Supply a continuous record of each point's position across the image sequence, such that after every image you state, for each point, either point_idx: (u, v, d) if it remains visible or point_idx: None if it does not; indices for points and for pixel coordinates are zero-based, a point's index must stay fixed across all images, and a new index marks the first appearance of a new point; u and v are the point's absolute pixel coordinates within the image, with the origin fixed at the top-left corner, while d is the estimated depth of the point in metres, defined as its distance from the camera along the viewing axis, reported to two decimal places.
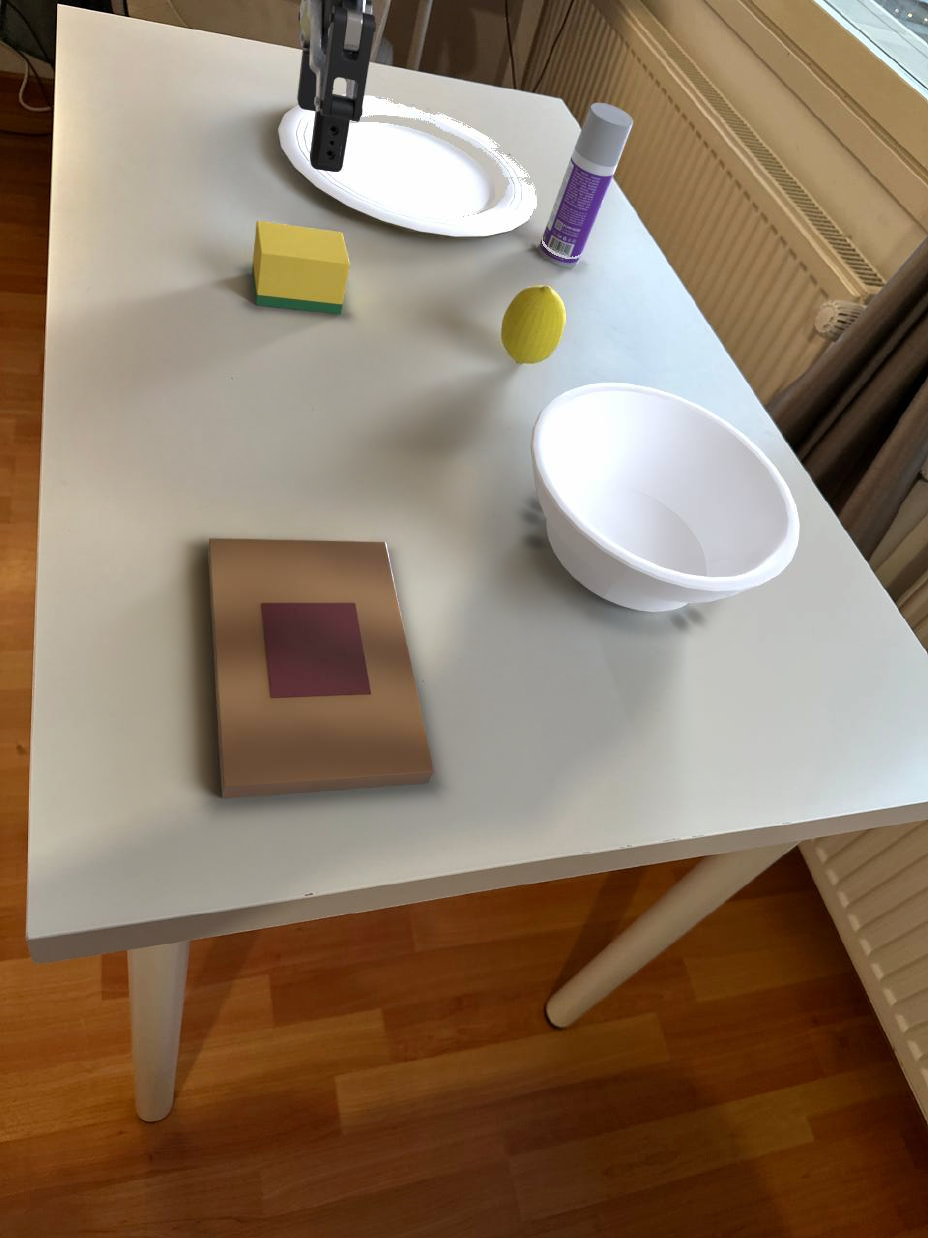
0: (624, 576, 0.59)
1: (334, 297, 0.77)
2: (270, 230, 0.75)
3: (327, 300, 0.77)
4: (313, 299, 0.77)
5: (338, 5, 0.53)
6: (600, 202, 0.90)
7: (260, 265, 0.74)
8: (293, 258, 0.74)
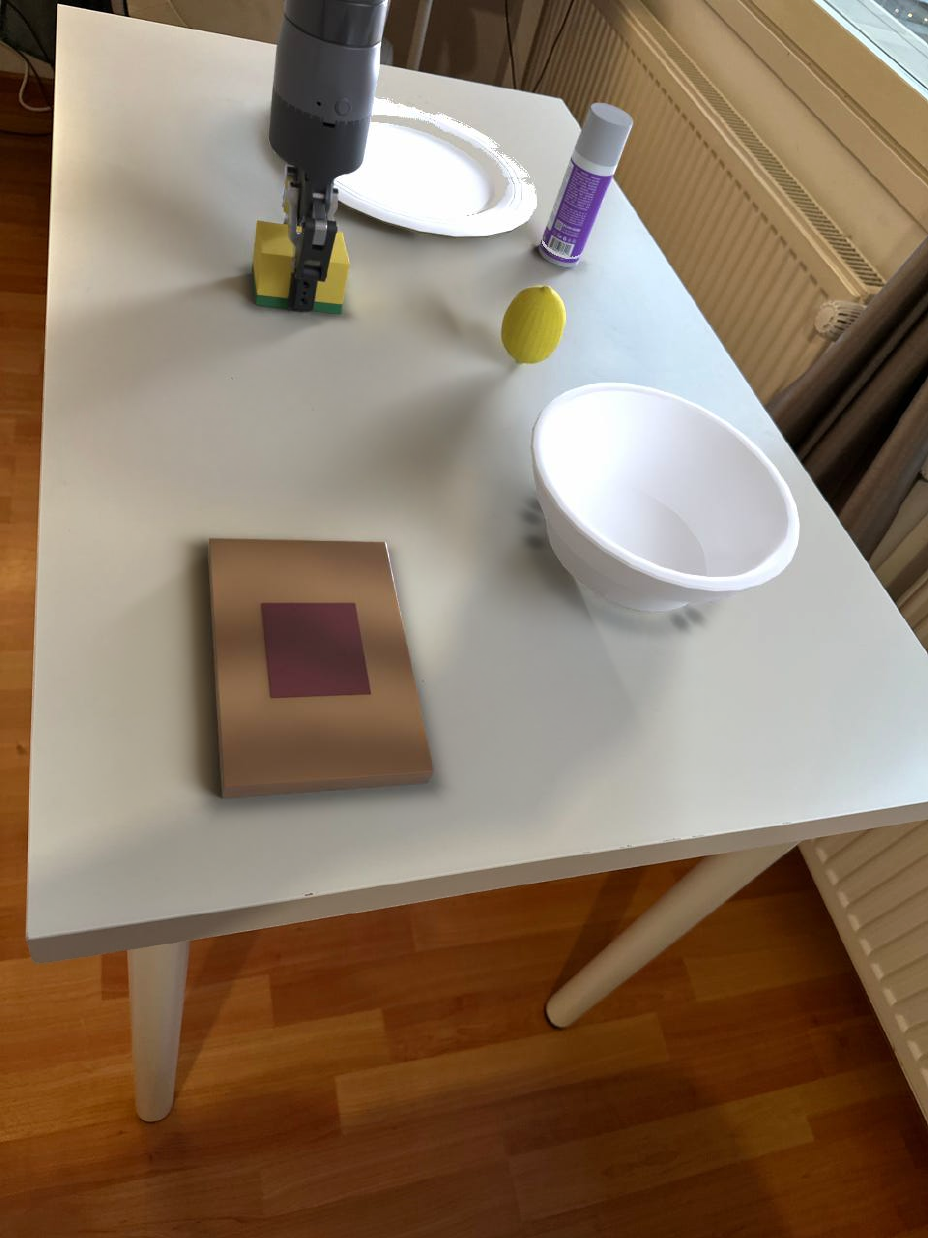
0: (624, 576, 0.59)
1: (334, 297, 0.77)
2: (270, 230, 0.75)
3: (327, 300, 0.77)
4: None
5: (310, 205, 0.68)
6: (600, 202, 0.90)
7: (260, 265, 0.74)
8: None
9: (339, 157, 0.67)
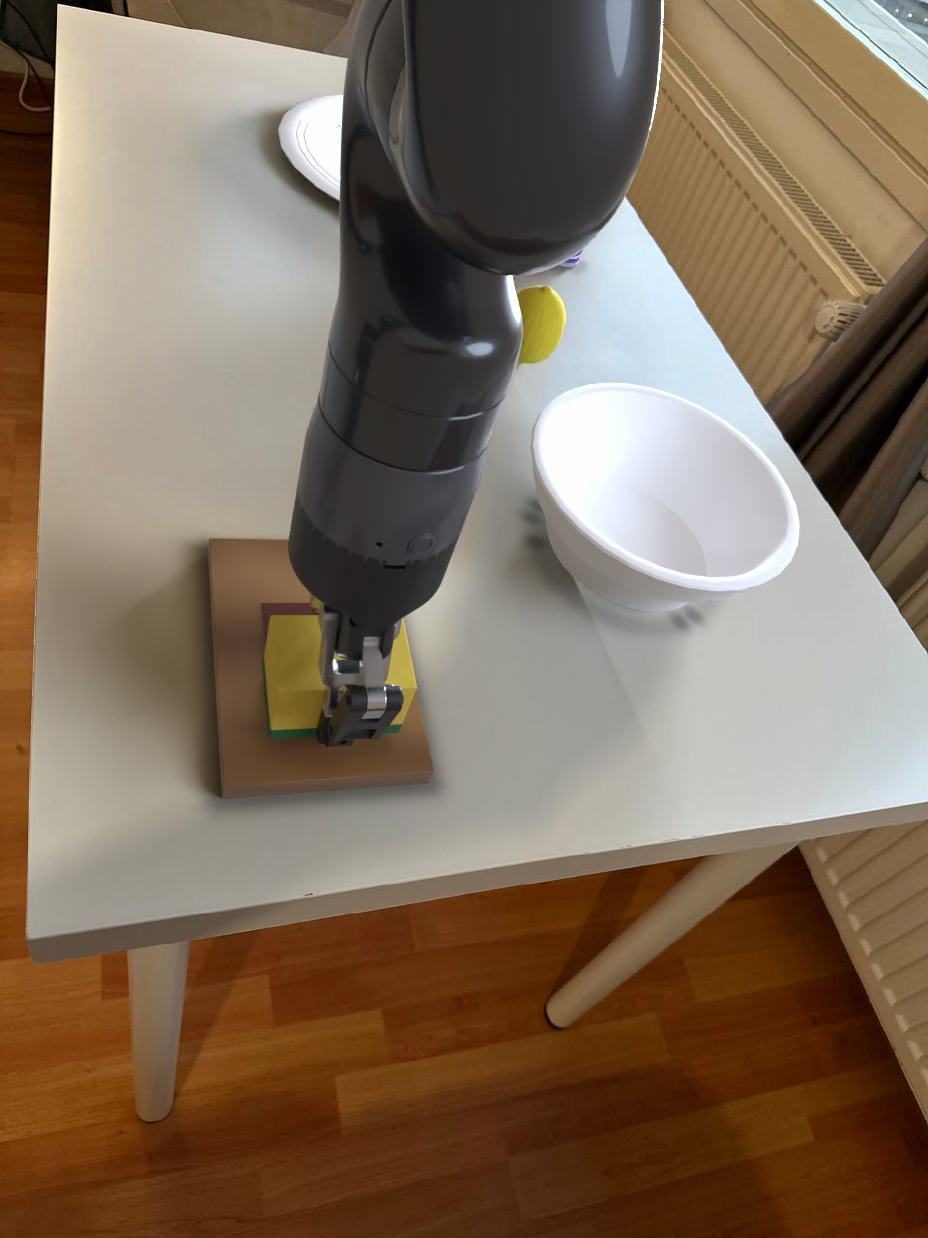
0: (624, 576, 0.59)
1: None
2: (292, 634, 0.47)
3: None
4: None
5: (357, 658, 0.41)
6: None
7: (276, 703, 0.46)
8: None
9: (409, 597, 0.39)
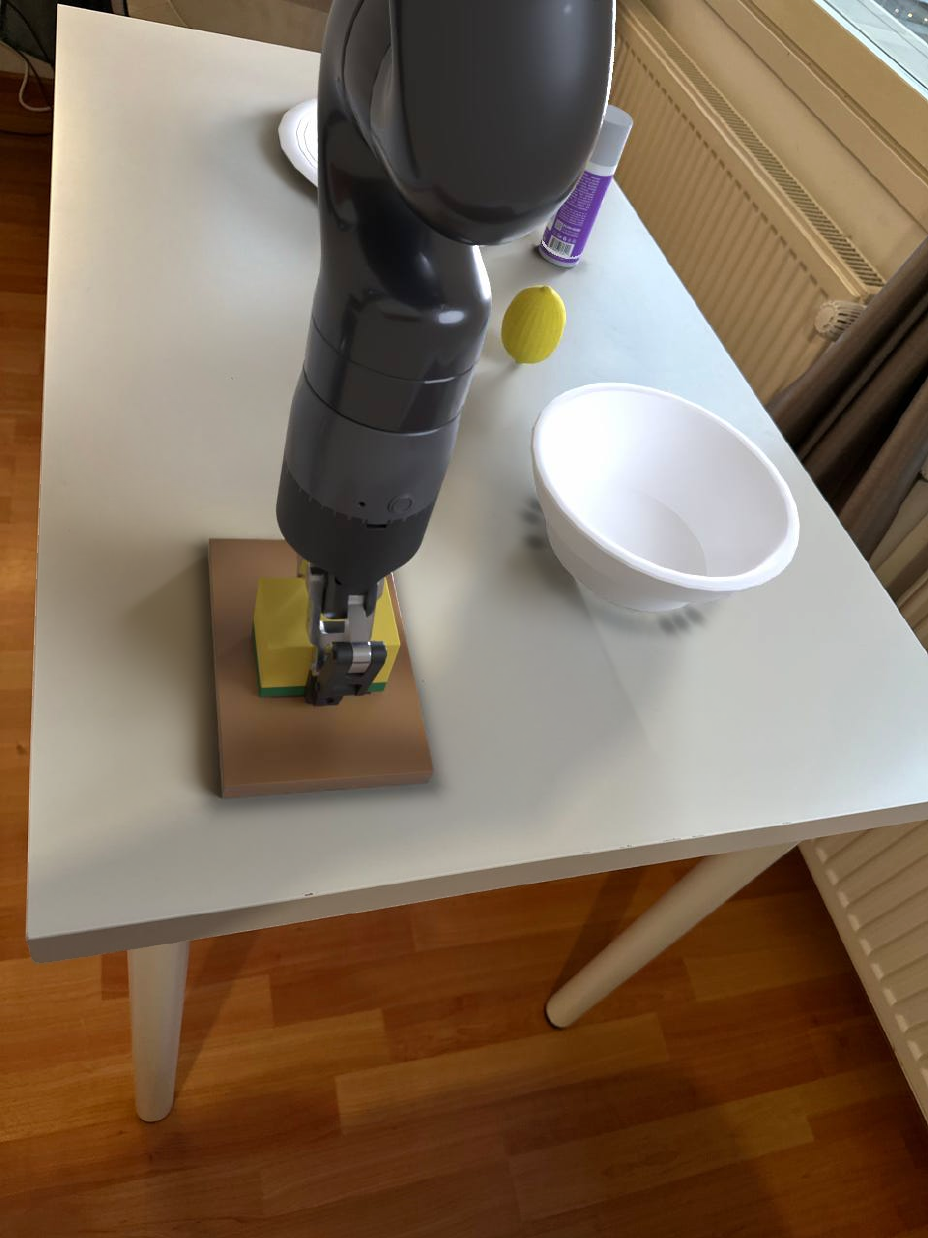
0: (624, 576, 0.59)
1: None
2: (280, 596, 0.50)
3: None
4: None
5: (343, 615, 0.43)
6: (600, 202, 0.90)
7: (266, 660, 0.48)
8: None
9: (391, 556, 0.42)
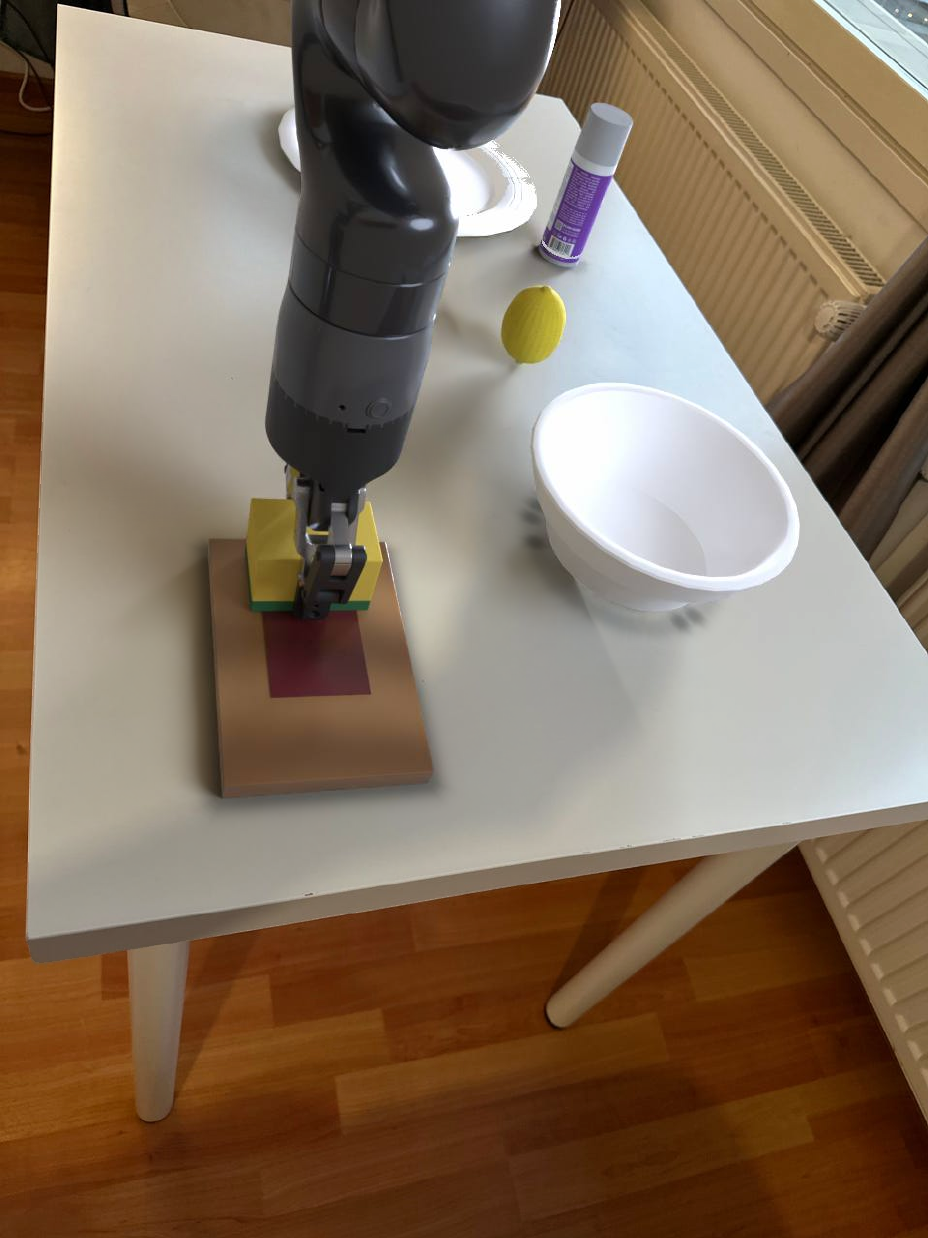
0: (624, 576, 0.59)
1: (359, 595, 0.56)
2: (270, 514, 0.53)
3: (350, 598, 0.56)
4: None
5: (326, 521, 0.47)
6: (600, 202, 0.90)
7: (257, 572, 0.52)
8: None
9: (370, 463, 0.45)
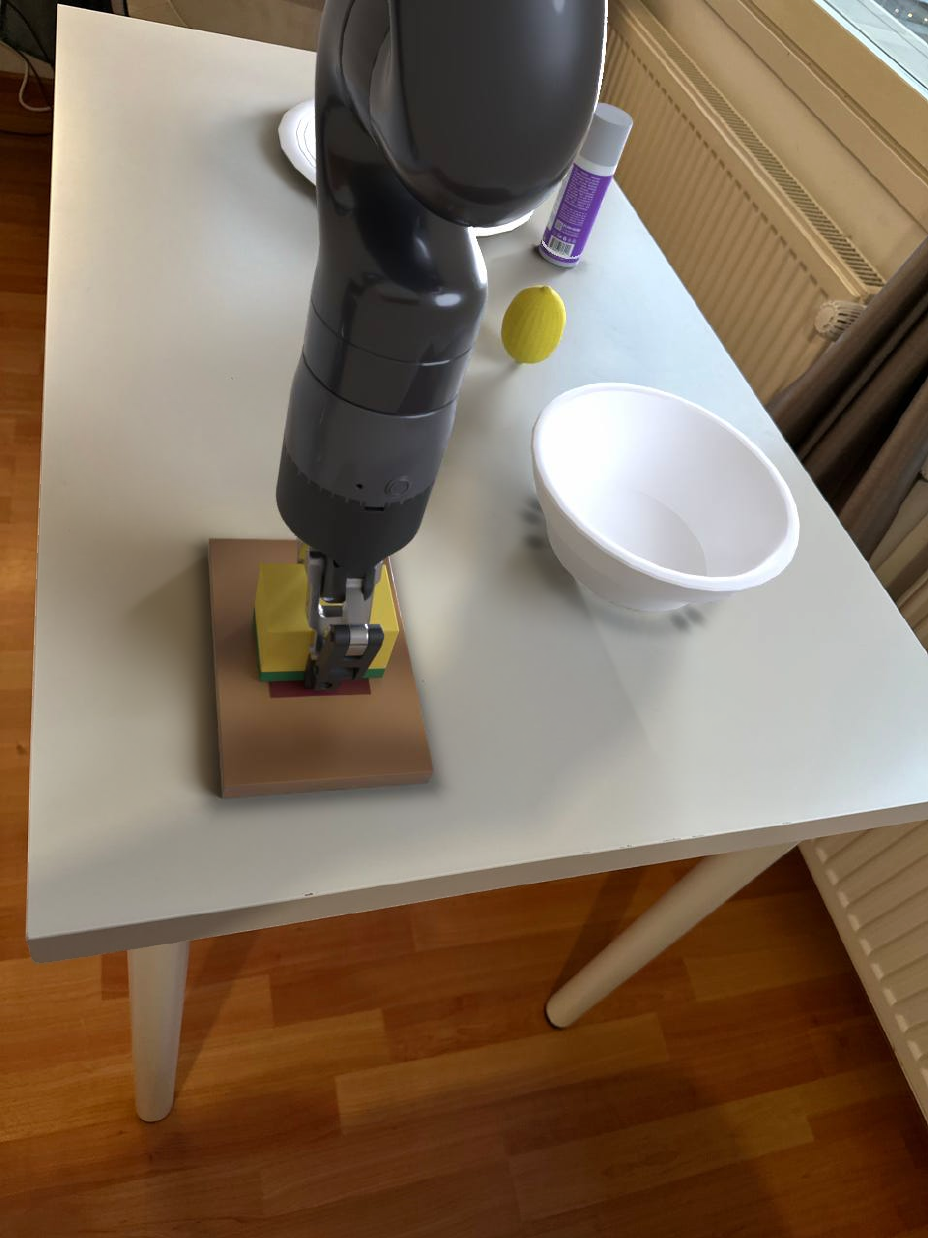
0: (624, 576, 0.59)
1: (374, 663, 0.53)
2: (280, 581, 0.50)
3: None
4: None
5: (341, 598, 0.44)
6: (600, 202, 0.90)
7: (266, 644, 0.49)
8: None
9: (388, 540, 0.42)
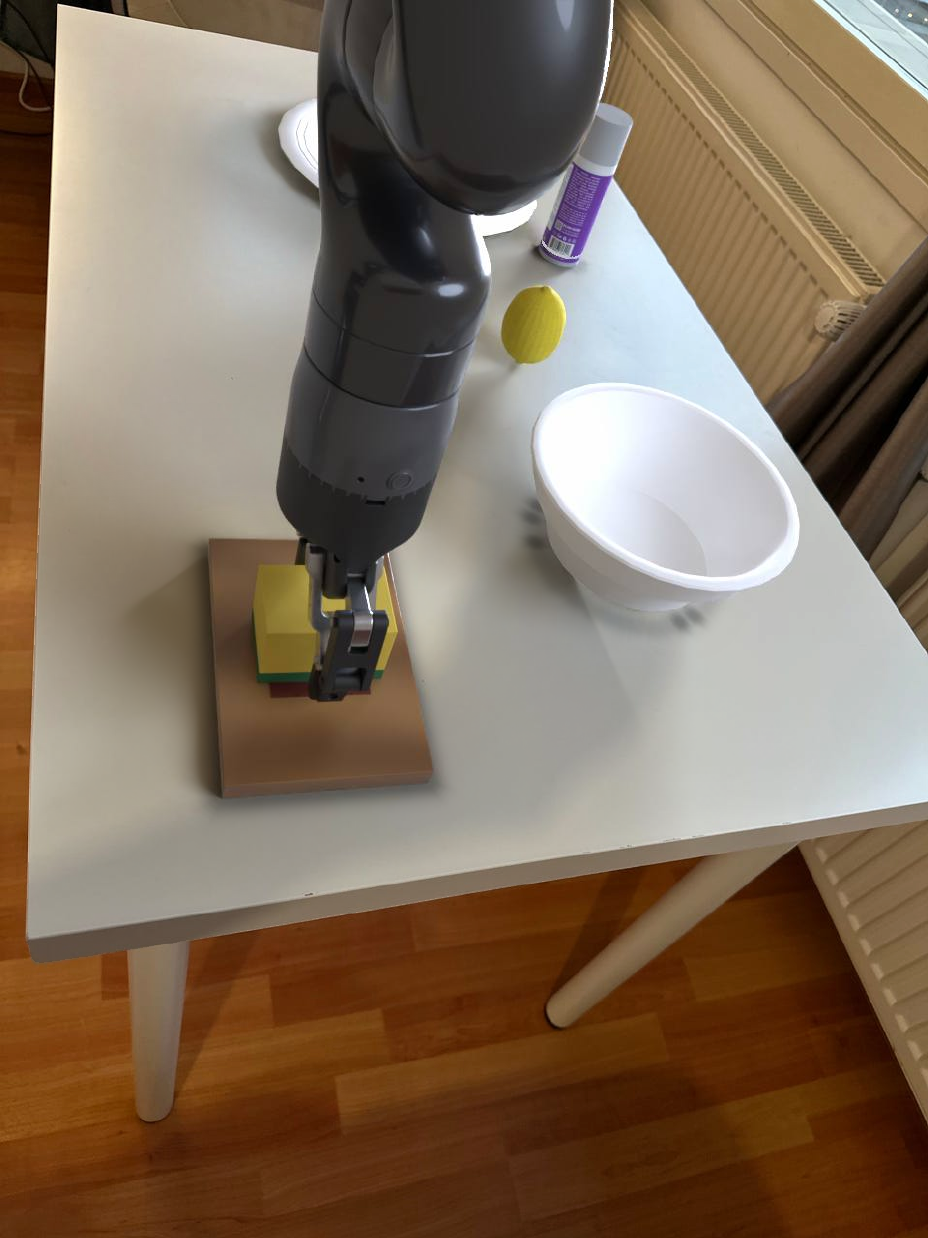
0: (624, 576, 0.59)
1: None
2: (279, 582, 0.50)
3: None
4: None
5: (343, 589, 0.43)
6: (600, 202, 0.90)
7: (264, 645, 0.49)
8: (314, 635, 0.49)
9: (390, 534, 0.42)
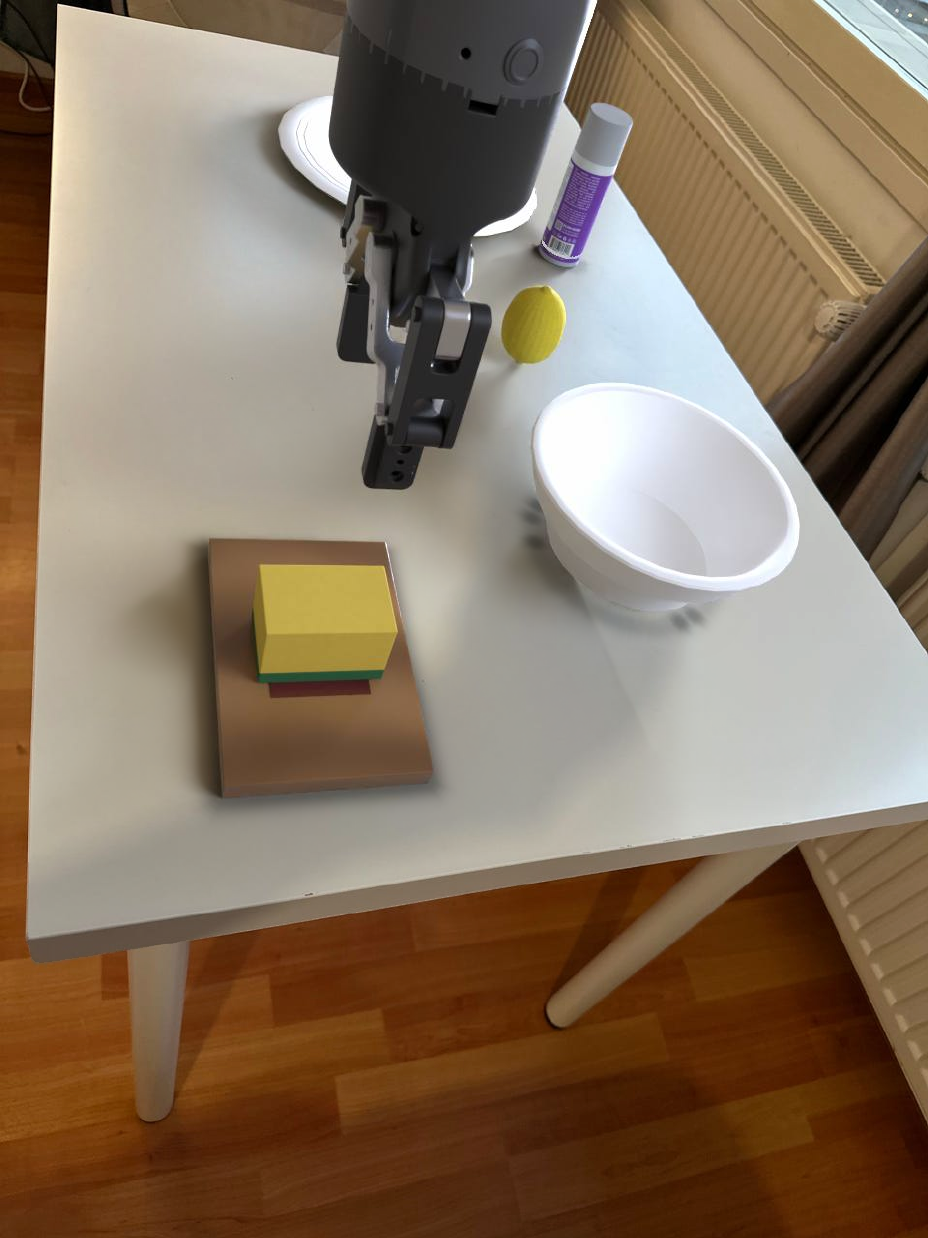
0: (624, 576, 0.59)
1: (372, 664, 0.53)
2: (279, 582, 0.50)
3: (362, 668, 0.53)
4: (342, 669, 0.52)
5: (423, 280, 0.30)
6: (600, 202, 0.90)
7: (264, 645, 0.49)
8: (314, 635, 0.49)
9: (495, 184, 0.29)
